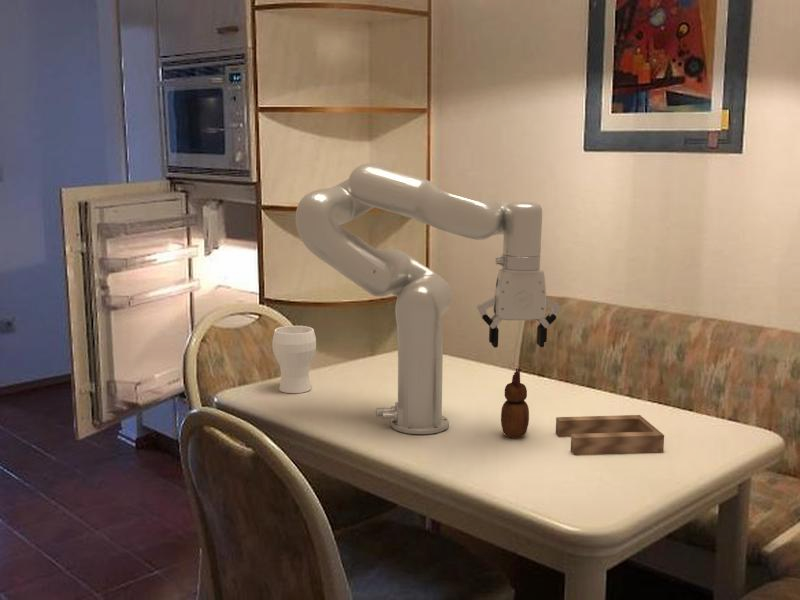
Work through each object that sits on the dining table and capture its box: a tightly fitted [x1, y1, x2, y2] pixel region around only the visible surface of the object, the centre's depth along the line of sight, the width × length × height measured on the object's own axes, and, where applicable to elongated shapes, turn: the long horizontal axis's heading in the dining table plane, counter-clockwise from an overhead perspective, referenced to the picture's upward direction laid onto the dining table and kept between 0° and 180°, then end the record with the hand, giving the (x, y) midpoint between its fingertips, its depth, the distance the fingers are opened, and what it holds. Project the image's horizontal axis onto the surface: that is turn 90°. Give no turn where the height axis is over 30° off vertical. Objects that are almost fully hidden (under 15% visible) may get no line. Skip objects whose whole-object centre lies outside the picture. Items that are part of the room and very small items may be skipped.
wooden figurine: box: [500, 367, 530, 439], centre depth 188 cm, size 7×6×15 cm
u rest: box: [555, 414, 665, 456], centre depth 185 cm, size 18×13×4 cm
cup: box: [272, 325, 317, 394], centre depth 221 cm, size 11×11×15 cm
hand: (517, 345), depth 186 cm, fingers open, 9 cm apart
